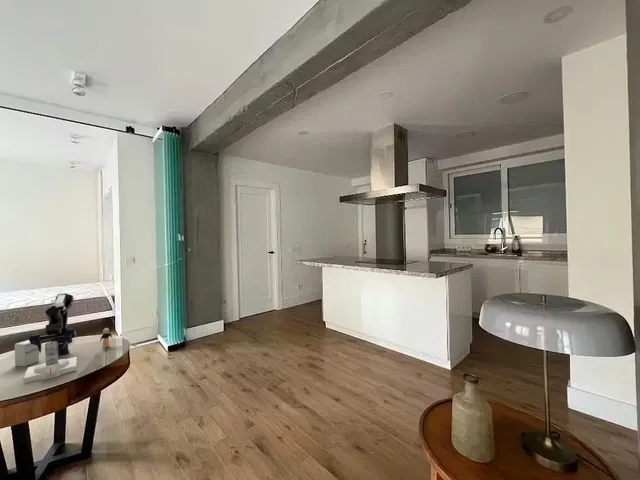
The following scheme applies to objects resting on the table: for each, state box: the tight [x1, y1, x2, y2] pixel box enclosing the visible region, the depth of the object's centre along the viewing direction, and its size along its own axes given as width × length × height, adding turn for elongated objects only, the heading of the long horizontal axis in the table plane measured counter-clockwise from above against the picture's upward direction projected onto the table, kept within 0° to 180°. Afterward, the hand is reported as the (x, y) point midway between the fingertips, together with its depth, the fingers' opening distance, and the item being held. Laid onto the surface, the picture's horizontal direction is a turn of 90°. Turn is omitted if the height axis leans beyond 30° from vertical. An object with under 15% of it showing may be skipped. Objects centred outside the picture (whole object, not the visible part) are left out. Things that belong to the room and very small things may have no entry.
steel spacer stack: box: [44, 341, 59, 366], centre depth 155 cm, size 5×5×12 cm
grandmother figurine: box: [99, 327, 113, 350], centre depth 188 cm, size 8×4×13 cm, turn 170°
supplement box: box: [14, 339, 40, 367], centre depth 166 cm, size 7×7×13 cm
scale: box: [23, 356, 78, 384], centre depth 155 cm, size 18×20×6 cm
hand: (51, 350), depth 155 cm, fingers open, 9 cm apart
